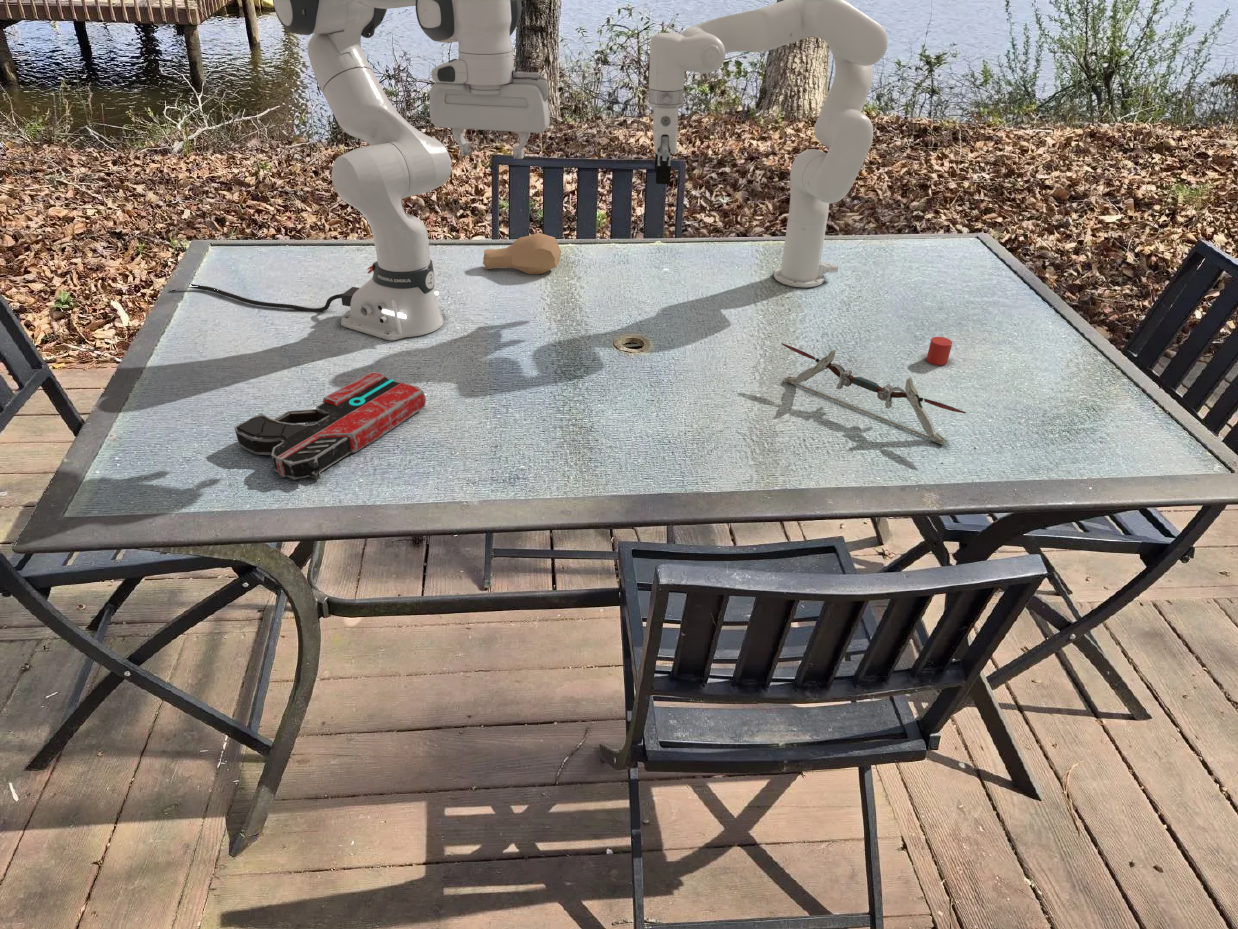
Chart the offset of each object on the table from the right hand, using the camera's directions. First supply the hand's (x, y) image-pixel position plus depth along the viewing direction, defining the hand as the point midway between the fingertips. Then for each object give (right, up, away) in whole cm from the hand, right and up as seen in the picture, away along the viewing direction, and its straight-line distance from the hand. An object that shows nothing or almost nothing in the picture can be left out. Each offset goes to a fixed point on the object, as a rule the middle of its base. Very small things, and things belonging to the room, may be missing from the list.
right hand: (662, 177), depth 199 cm
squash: (-34, -15, +26) cm, 46 cm away
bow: (+37, -55, -31) cm, 73 cm away
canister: (+58, -43, -12) cm, 73 cm away
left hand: (-32, -12, -47) cm, 58 cm away
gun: (-61, -59, -41) cm, 94 cm away
